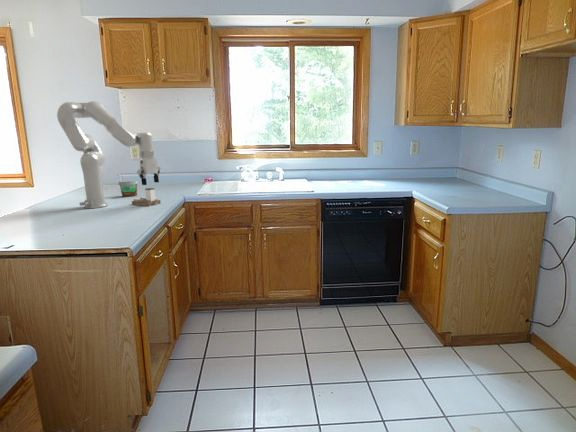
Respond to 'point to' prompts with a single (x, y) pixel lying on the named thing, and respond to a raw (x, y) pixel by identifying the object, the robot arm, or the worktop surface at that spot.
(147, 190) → the slider tab
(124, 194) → the food container
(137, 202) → the rail board
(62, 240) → the worktop surface
